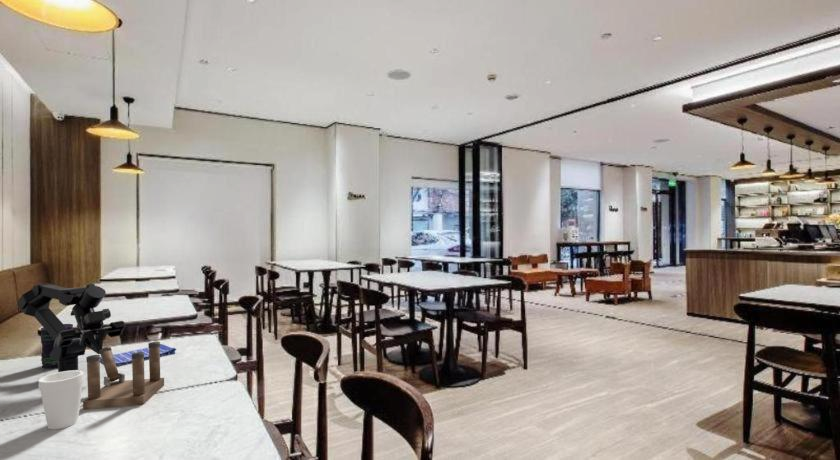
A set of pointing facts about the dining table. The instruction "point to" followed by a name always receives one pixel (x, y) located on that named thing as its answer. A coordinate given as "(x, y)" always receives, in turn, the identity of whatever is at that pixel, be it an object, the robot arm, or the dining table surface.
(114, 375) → the hinged leg
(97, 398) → the stool
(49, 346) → the storage jar
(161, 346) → the dish towel
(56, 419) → the foam cup
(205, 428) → the dining table surface
